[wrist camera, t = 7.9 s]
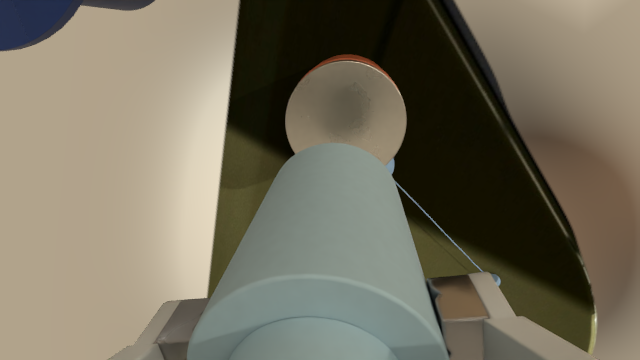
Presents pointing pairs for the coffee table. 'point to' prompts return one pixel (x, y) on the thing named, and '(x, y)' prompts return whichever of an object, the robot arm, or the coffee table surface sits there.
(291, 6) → the coffee table surface
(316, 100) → the tin
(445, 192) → the coffee table surface
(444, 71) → the coffee table surface
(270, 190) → the bottle
